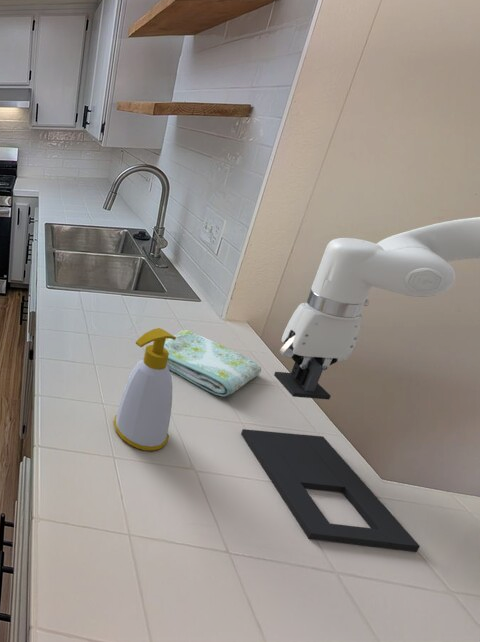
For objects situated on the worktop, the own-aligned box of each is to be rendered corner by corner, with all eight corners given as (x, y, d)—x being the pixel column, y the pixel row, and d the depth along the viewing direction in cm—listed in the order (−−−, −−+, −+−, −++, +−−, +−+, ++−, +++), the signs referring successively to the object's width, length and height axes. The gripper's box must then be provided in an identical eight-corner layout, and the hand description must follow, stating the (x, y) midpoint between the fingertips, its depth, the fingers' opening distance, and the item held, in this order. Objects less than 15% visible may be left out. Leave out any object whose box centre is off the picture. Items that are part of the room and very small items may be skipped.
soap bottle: (101, 421, 88) (117, 324, 78) (138, 406, 92) (158, 312, 82) (139, 460, 79) (163, 355, 69) (179, 441, 83) (207, 340, 73)
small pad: (307, 377, 82) (318, 350, 80) (329, 399, 76) (341, 371, 74) (273, 375, 83) (283, 348, 81) (292, 396, 77) (303, 368, 75)
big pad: (320, 441, 83) (323, 436, 82) (416, 552, 63) (420, 546, 62) (240, 434, 85) (242, 429, 84) (308, 539, 65) (311, 533, 64)
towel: (182, 338, 118) (185, 324, 116) (260, 376, 102) (266, 361, 100) (146, 358, 109) (149, 343, 107) (225, 404, 93) (231, 387, 91)
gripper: (364, 296, 75) (331, 372, 82) (276, 291, 77) (251, 366, 84) (398, 316, 68) (359, 397, 75) (300, 310, 70) (271, 390, 77)
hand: (302, 380), depth 79 cm, fingers closed on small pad, 1 cm apart
